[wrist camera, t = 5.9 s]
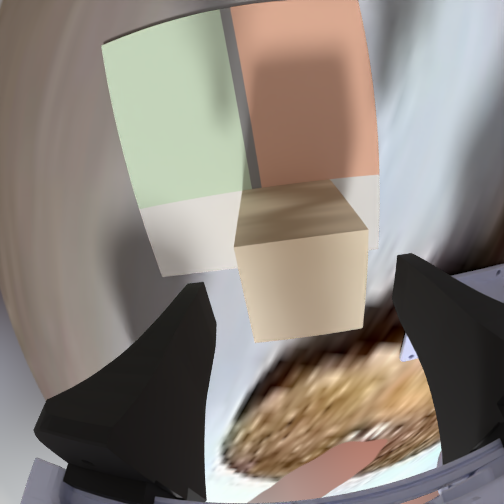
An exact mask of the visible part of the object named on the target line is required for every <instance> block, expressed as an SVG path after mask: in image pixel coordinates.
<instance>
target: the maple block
mask: <svg viewBox="0 0 504 504" xmlns="http://www.w3.org/2000/svg"><path fill="white" fill-rule="evenodd" d="M368 235H369V229H368V228H367V227H366V225H365V224H364V223H363V221H362V220H361V218H360V217H359V216H358V214H357V213H356V212H355V211H354V209H353V208H352V207H351V205H350V204H349V203H348V201H347V200H346V199H345V198H344V196H343V195H342V194H341V192H340V191H339V190H338V189H337V187H336V186H335V185H334V184H333V182H332V181H331V180H330V179H327V180H318V181H310V182H301V183H293V184H285V185H278V186H270V187H263V188H256V189H250V190H243V191H242V195H241V201H240V208H239V214H238V221H237V228H236V234H235V241H234V251H235V256H236V261H237V265H238V270H239V274H240V279H241V283H242V288H243V292H244V297H245V301H246V306H247V310H248V315H249V319H250V323H251V328H252V332H253V336H254V341H255V343H259V342H268V341H277V340H286V339H294V338H301V337H309V336H316V335H322V334H329V333H335V332H342V331H348V330H353V329H359V328H363V318H364V308H365V296H366V282H367V264H368Z"/></svg>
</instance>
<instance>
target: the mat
mask: <svg viewBox="0 0 504 504" xmlns="http://www.w3.org/2000/svg"><path fill="white" fill-rule="evenodd" d="M101 47H102V53H103V59H104V65H105V71H106V77H107V82H108V87H109V92H110V97H111V102H112V107H113V112H114V116H115V121H116V125H117V129H118V133H119V138H120V142H121V146H122V150H123V154H124V157H125V161H126V165H127V169H128V172H129V176H130V179H131V183H132V186H133V190H134V193H135V197H136V200H137V203H138V207H139V210H140V213H141V216H142V220H143V223H144V226H145V229H146V232H147V235H148V238H149V241H150V244H151V247H152V250H153V253H154V255H155V258H156V261H157V264H158V267H159V270H160V272H161V275H162V277H168V276H177V275H185V274H193V273H202V272H210V271H218V270H226V269H234V268H238V265H237V261H236V256H235V251H234V241H235V234H236V228H237V221H238V214H239V208H240V201H241V195H242V191H243V190H250V189H256V188H263V187H270V186H278V185H285V184H293V183H301V182H310V181H318V180H327V179H330V180H331V181H332V182H333V184H334V185H335V186H336V187H337V189H338V190H339V191H340V192H341V194H342V195H343V196H344V198H345V199H346V200H347V201H348V203H349V204H350V205H351V207H352V208H353V209H354V211H355V212H356V213H357V214H358V216H359V217H360V218H361V220H362V221H363V223H364V224H365V225H366V227H367V228H368V229H369V235H368V250H375V249H378V242H379V207H380V186H379V152H378V134H377V120H376V109H375V99H374V90H373V82H372V74H371V67H370V60H369V54H368V48H367V42H366V37H365V31H364V26H363V21H362V17H361V12H360V8H359V3H358V0H286V1H274V2H264V3H255V4H248V5H241V6H235V7H229V8H223V9H218V10H213V11H208V12H204V13H199V14H195V15H191V16H187V17H183V18H179V19H176V20H172V21H169V22H165V23H162V24H159V25H155V26H152V27H149V28H146V29H143V30H140V31H138V32H135V33H132V34H129V35H127V36H124V37H122V38H119V39H117V40H114V41H112V42H109V43H107V44H105V45H102V46H101Z"/></svg>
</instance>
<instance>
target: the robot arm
mask: <svg viewBox="0 0 504 504" xmlns="http://www.w3.org/2000/svg"><path fill="white" fill-rule="evenodd" d="M392 300H393V303H394V306H395V309H396V312H397V314H398V317H399V320H400V322H401V324H402V326H403V328H404V330H405V332H406V333H405V337H404V341H403V345H402V348H401V352H400V356H399V358H400V360H401V361H403V362H404V361H409V360H412V359H416V358H419V360H420V363H421V365H422V367H423V370H424V372H425V375H426V378H427V381H428V385H429V388H430V391H431V395H432V399H433V403H434V407H435V411H436V416H437V421H438V427H439V433H440V440H441V449H442V450H441V452H440V455H439V458H438V463H437V468H435V469H432V470H429V471H427V472H424V473H421V474H418V475H415V476H412V477H409V478H406V479H403V480H400V481H396V482H393V483H389V484H386V485H382V486H378V487H374V488H370V489H366V490H361V491H357V492H352V493H347V494H342V495H336V496H330V497H324V498H317V499H309V500H300V501H290V502H276V503H251V504H400V503H404V502H407V501H410V500H413V499H416V498H418V497H421V496H424V495H427V494H429V493H432V492H434V491H437V490H438V492H439V496H437V497H436V498H434V499H432V500H431V501H429V502H427V503H425V504H504V264H500V265H496V266H492V267H488V268H483V269H479V270H475V271H470V272H466V273H461V274H457V275H452V276H450V275H449V274H447V273H445V272H444V271H442V270H440V269H439V268H437V267H435V266H434V265H432V264H430V263H429V262H427V261H425V260H424V259H422V258H420V257H418V256H416V255H414V254H412V253H409V254H403V255H397V263H396V272H395V280H394V288H393V295H392ZM215 347H216V320H215V317H214V314H213V311H212V308H211V304H210V301H209V298H208V295H207V291H206V288H205V285H204V282H199V283H190V284H187V285H186V286H185V287H184V289H183V290H182V291H181V292H180V293H179V294H178V296H177V297H176V298H175V299H174V300H173V302H172V303H171V304H170V305H169V306H168V307H167V309H166V310H165V311H164V312H163V313H162V314H161V316H160V317H159V318H158V319H157V320H156V321H155V322H154V323H153V324H152V325H151V326H150V327H149V328H148V329H147V331H146V332H145V333H144V334H143V335H142V336H141V337H140V338H139V339H138V340H137V341H136V342H135V343H133V344H132V345H131V346H130V347H129V348H128V349H127V350H126V351H124V352H123V353H122V354H121V355H120V356H118V357H117V358H116V359H114V360H113V361H112V362H110V363H109V364H108V365H106V366H105V367H104V368H102V369H101V370H100V371H98V372H97V373H95V374H94V375H92V376H91V377H89V378H88V379H86V380H84V381H83V382H81V383H79V384H78V385H76V386H74V387H72V388H70V389H68V390H66V391H64V392H62V393H60V394H58V395H56V396H54V397H52V398H50V399H47V400H46V403H45V405H44V407H43V409H42V412H41V414H40V416H39V418H38V421H37V423H36V426H35V428H34V433H35V435H36V437H37V438H38V439H39V441H40V442H42V443H43V444H44V445H45V446H46V447H47V448H49V449H50V450H51V451H53V452H54V453H55V454H57V455H58V456H59V457H61V458H62V459H63V460H65V461H66V462H67V463H68V466H67V469H64V468H62V467H60V466H57V465H55V464H52V463H50V462H47V461H45V460H42V459H40V458H35V460H34V463H33V466H32V469H31V472H30V475H29V478H28V481H27V484H26V487H25V491H24V494H23V497H22V501H21V504H248V503H210V502H205V501H206V500H207V499H206V486H205V463H204V435H205V409H206V399H207V392H208V387H209V381H210V375H211V370H212V364H213V359H214V353H215ZM249 504H250V503H249Z"/></svg>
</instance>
